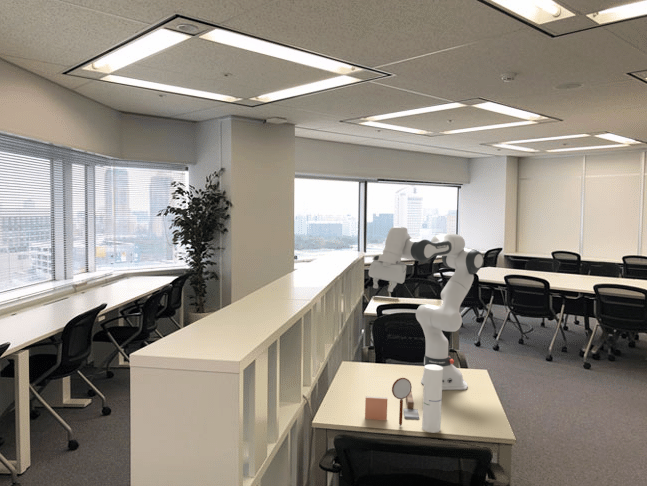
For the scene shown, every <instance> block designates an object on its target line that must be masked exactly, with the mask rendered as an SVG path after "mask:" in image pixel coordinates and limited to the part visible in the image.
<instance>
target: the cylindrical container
mask: <svg viewBox="0 0 647 486" xmlns="http://www.w3.org/2000/svg"><path fill="white" fill-rule="evenodd" d="M423 373H424V385H423V391H422V392H423V394H422V397H423V398H422V418H421V419H422V421H421V429H422V430H423V431H425V432H427V433H439V432H440V431H441V421H442V398H443V390H442V378H443V367H441V366H439V365H433V364H430V365H425V367H424V368H423Z"/></svg>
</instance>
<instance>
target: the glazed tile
mask: <svg viewBox="0 0 647 486" xmlns="http://www.w3.org/2000/svg"><path fill="white" fill-rule="evenodd" d="M364 402H365V405H364V406H365V410H364V420H378V421H379V420H380V421H387V419H388V397H383V396H382V397H381V396H368V395H366V396H365V401H364Z"/></svg>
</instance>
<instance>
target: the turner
mask: <svg viewBox="0 0 647 486" xmlns="http://www.w3.org/2000/svg"><path fill="white" fill-rule="evenodd" d="M412 392H413V391H412V390H411V392H410V394H409V395H408V396H407V397H406V398H405V402H406V408H403V415H404V419H407V420H408V419H409V420H420V414H419V410H418V408H414V407H415V406H414V397H413V393H412Z"/></svg>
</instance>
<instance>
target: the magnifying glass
mask: <svg viewBox="0 0 647 486" xmlns="http://www.w3.org/2000/svg"><path fill="white" fill-rule="evenodd" d="M411 391H412V383H411V381H410V380H409V379H408V378H406V377H400V378H398V379H396V380H395V381H394V382H393V384H392V387H391V392H392V395H393V396H394V398H396V399H398V400H399V414H398V415H399V417H398V421H399V422H398V424H399V427H400V426H401V427H402V425H403V413H404V408H403V407H404V406H403V405H404V399H406V397H407V396H408V395H409V394H410V392H411Z"/></svg>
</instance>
